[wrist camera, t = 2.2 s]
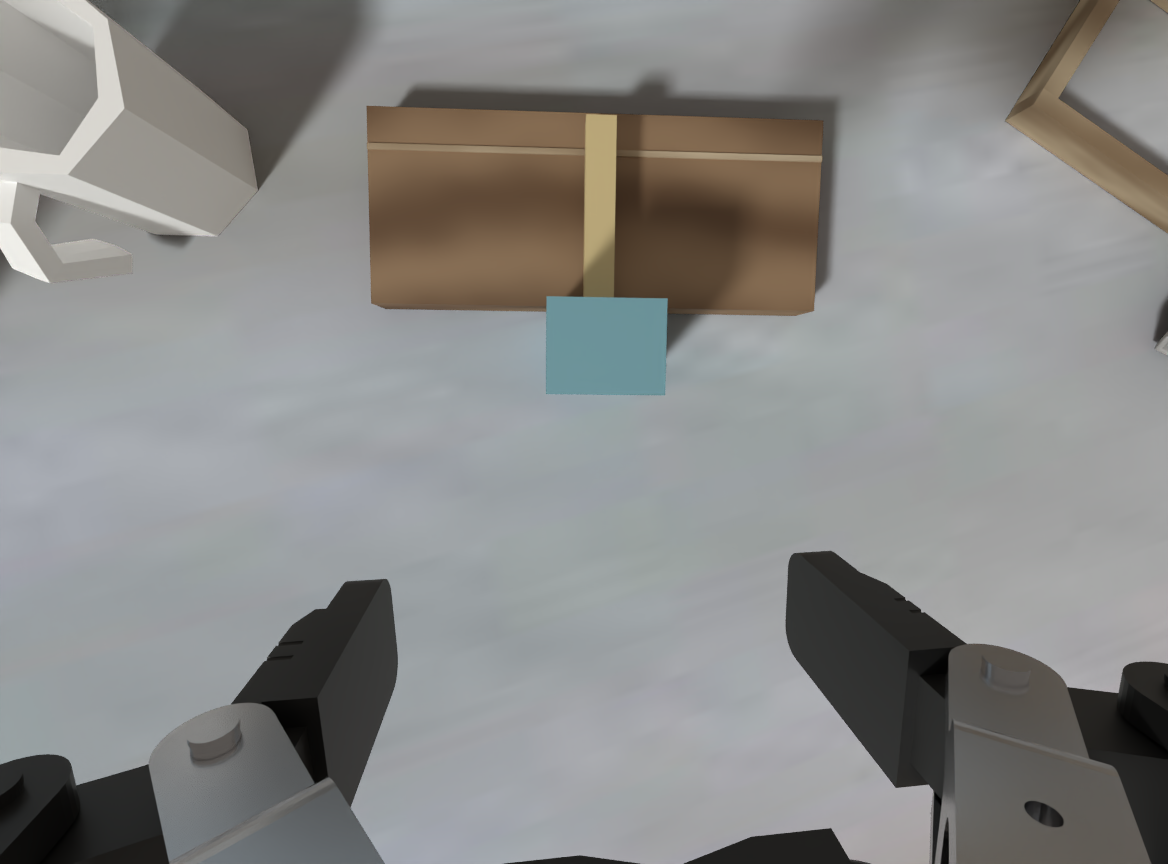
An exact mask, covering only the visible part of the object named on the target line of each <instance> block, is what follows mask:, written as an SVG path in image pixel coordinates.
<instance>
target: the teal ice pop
mask: <svg viewBox="0 0 1168 864" xmlns="http://www.w3.org/2000/svg"><path fill="white" fill-rule="evenodd" d="M616 137H617V115H599V114H586V122H585V182H584V267H583V297H559V296H547V306H546V394H593V395H665V381H666V342H667V303H668V298H614V256H615V196H616Z"/></svg>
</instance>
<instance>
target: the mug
mask: <svg viewBox="0 0 1168 864" xmlns="http://www.w3.org/2000/svg"><path fill="white" fill-rule="evenodd" d="M257 191H258V187H257V181H256V175H255V169H254V164H253V158H252V152H251V146H250V140H249V134H248V130H247V129H246V128H245V127H244V126H243V125H242V124H240V123H239V122H238V121H237V120H236V119H234V118H233V117H232V116H231V115H230V114H229V113H227V112H226V111H225V110H224V109H223V108H221V107H220V106H219V105H218V104H217V103H216V102H214V101H213V100H212V99H211V98H210V97H209V96H207V95H206V94H205V93H204V92H203V91H201V90H200V89H199V88H198V87H196V86H195V85H194V84H193V83H191V82H190V81H189V80H188V79H186V78H185V77H184V76H183V75H181V74H180V73H179V72H178V71H176V70H175V69H174V68H173V67H171V66H170V65H169V64H168V63H166V62H165V61H164V60H163V59H161V58H160V57H159V56H158V55H156V54H155V53H154V52H153V51H151V50H150V49H149V48H148V47H146V46H145V45H144V44H143V43H141V42H140V41H139V40H137V39H136V38H135V37H134V36H132V35H131V34H130V33H129V32H127V31H126V30H125V29H124V28H122V27H121V26H120V25H119V24H117V23H116V22H115V21H114V20H112V19H111V18H110V17H109V16H107V15H106V14H105V13H104V12H102V11H101V10H100V9H99V8H97V7H96V6H95V5H94V4H92V3H91V2H90V1H89V0H0V249H1V250H2V252H3V254H4V255H5V257H6V258H7V260H8V262H9V263H10V265H11V267H12V268H13V269H15V270H17V271H20V272H22V273H25V274H27V275H29V276H32V277H34V278H37V279H40V280H42V281H45V282H48V283H58V282H66V281H75V280H83V279H91V278H99V277H108V276H116V275H124V274H132V273H133V259H132V254H131V253H129V252H127V251H126V250H124V249H122V248H120V247H119V246H116V245H113V244H110V243H106V242H103V241H99V240H96V239H87V240H81V241H74V242H67V243H60V244H53V245H51V244H50V243H49V241H48V240H47V238H46V237H45V235H44V234H43V232H42V231H41V229H40V228H39V226H38V224H37V223H36V221H35V219H36V214H37V208H38V202H39V197H40V194H41V195H44V196H47V197H50V198H52V199H55V200H58V201H61V202H64V203H67V204H70V205H72V206H75V207H78V208H81V209H84V210H87V211H90V212H92V213H95V214H98V215H101V216H104V217H107V218H110V219H112V220H115V221H118V222H121V223H124V224H127V225H130V226H132V227H135V228H138V229H141V230H144V231H147V232H149V233H152V234H155V235H188V236H219V235H220V233H221V232H222V231H223V230H224V229H225V228H226V227H227V225H228V224H229V223H230V222H231V221H232V220H233V219H234V217H235V216H236V215H237V214H238V213H239V212H240V211H241V209H242V208H243V207H244V206H245V205H246V204H247V203H248V201H249V200H250V199H251V198H252V197H253V196H254V195H255V193H256V192H257Z"/></svg>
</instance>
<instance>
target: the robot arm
mask: <svg viewBox="0 0 1168 864" xmlns="http://www.w3.org/2000/svg"><path fill="white" fill-rule="evenodd" d="M786 635H787V640H788V643H789V646H790V649H791V651H792V653H793V655H794V657H795V658H796V660H797V661H798V662H799V663H800V665H801V666H802V667H803V669H804V670H805V671H806V672H807V674H808V675H809V676H810V678H811V679H812V680H813V681H814V683H815V684H816V685H817V687H818V688H819V689H820V691H821V692H822V693H823V694H824V696H825V697H826V698H827V700H828V701H829V702H830V703H831V705H832V706H833V707H834V709H835V710H836V711H837V712H838V714H839V715H840V716H841V718H842V719H843V720H844V721H845V723H846V724H847V725H848V727H849V728H850V729H851V730H852V732H853V733H854V734H855V736H856V737H857V738H858V739H859V741H860V742H861V743H862V745H863V746H864V747H865V749H866V750H867V751H868V752H869V754H870V755H871V756H872V758H873V759H874V760H875V761H876V763H877V764H878V765H879V767H880V768H881V769H882V770H883V772H884V773H885V774H886V776H887V777H888V778H889V779H890V781H891V782H892V783H893V785H894V786H895V787H896V788H899V787H909V786H919V785H928V784H929V785H930V787H931V788H932V789H933V798H932V807H931V828H930V859H929V864H1168V664H1165V663H1158V662H1135V663H1131V664H1128V665H1127V666H1125V667H1124V669H1123V672H1122V678H1121V683H1120V689H1119V693H1111V692H1103V691H1094V690H1086V689H1077V688H1069V687H1067V686H1066V684H1065V682H1064V680H1063V679H1062V678H1061V676H1060V675H1059V674H1057V673H1056V672H1055V671H1054V670H1053V669H1051V668H1050V667H1048V666H1047V665H1045V664H1044V663H1042V662H1040V661H1038V660H1036V659H1034V658H1032V657H1030V656H1028V655H1025V654H1023V653H1020V652H1017V651H1014V650H1011V649H1007V648H1003V647H999V646H994V645H987V644H966V643H965V642H963V641H962V640H961V639H959V638H958V637H957V636H955V635H954V634H953V633H951V632H950V631H949V630H947V629H946V628H945V627H943V626H942V625H941V624H939V623H938V622H937V621H935V620H934V619H933V618H931V617H930V616H929V615H927V614H926V613H925V612H924V613H921V609H919V608H918V607H917V606H915V605H914V604H913V603H911V602H910V601H906V600H905V597H903V596H902V595H901V594H899V593H898V592H897V591H895V590H894V589H893V588H891V587H890V586H889V585H887V584H886V583H883V582H881V581H879V580H876V579H874V578H872V577H870V576H867V575H865V574H863V573H860V572H859V571H857V570H856V569H855V568H854V567H852V566H851V565H850V564H848V563H847V562H846V561H845V560H843V559H842V558H841V557H839V556H838V555H837V554H836V553H834V552H832V551H821V552H805V553H794V554H793V555H792V556H791V558H790V560H789V566H788V584H787V604H786ZM397 667H398V654H397V643H396V634H395V624H394V614H393V605H392V595H391V588H390V584H389V582H388V580H387V579H378V580H363V581H347V582H345V583H344V584H343V586H342V587H341V588H340V590H339V591H338V593H337V594H336V596H335V597H334V598H333V600H332V601H331V603H330V604H329V606H328V607H327V608H326V609H315V610H314V611H312V612H311V613H309V614H308V615H306V616H305V617H303V618H302V619H300V620H299V621H298V622H296V623H295V624H293V625H292V626H291V627H290V629H289V630H288V631H287V633H286V634H285V635H284V636H283V638H282V639H281V640H280V642H279V645H278V646H276V647H275V648H274V649H273V651H272V652H271V653H270V654H269V656H268V657H267V661H264V662H263V664H262V665H261V666H260V667H259V669H258V670H257V671H256V673H255V674H254V675H253V676H252V678H251V679H250V680H249V682H248V683H247V684H246V685H245V687H244V688H243V689H242V691H241V692H240V693H239V695H238V696H237V697H236V698H235V700H234V701H233V702H232V704H231V705H227V706H223V707H220V708H216V709H213V710H210V711H208V712H205V713H203V714H201V715H198V716H196V717H194V718H192V719H190V720H189V721H187V722H185V723H183V724H182V725H180V726H179V727H177V728H176V729H174V730H173V731H172V732H171V733H169V734H168V735H167V736H166V737H165V738H164V739H163V740H162V741H161V742H160V743H159V744H158V745H157V746H156V748H155V749H154V751H153V752H152V754H151V756H150V760H149V764H148V765H145V766H142V767H139V768H135V769H132V770H128V771H125V772H121V773H118V774H115V775H111V776H108V777H104V778H101V779H97V780H94V781H90V782H87V783H83V784H80V785H76V783H75V779H74V775H73V771H72V766H71V763H70V762H69V760H68V759H66V758H64V757H62V756H59V755H49V754H47V755H36V756H30V757H25V758H21V759H17V760H13V761H10V762H7V763H4V764H1V765H0V864H385V863H384V861H383V860H382V858H381V857H380V855H379V853H378V852H377V850H376V849H375V847H374V845H373V844H372V842H371V840H370V839H369V837H368V836H367V834H366V832H365V831H364V829H363V827H362V826H361V824H360V823H359V821H358V819H357V818H356V816H355V815H354V813H353V811H352V810H351V808H350V807H351V804H352V802H353V799H354V796H355V794H356V791H357V788H358V785H359V783H360V780H361V777H362V774H363V772H364V769H365V766H366V764H367V761H368V758H369V755H370V753H371V750H372V747H373V745H374V742H375V739H376V736H377V734H378V731H379V728H380V726H381V723H382V720H383V717H384V715H385V712H386V709H387V706H388V704H389V701H390V698H391V696H392V693H393V690H394V687H395V683H396V677H397ZM506 864H638V863H631V862H624V861H616V860H609V859H602V858H595V857H587V856H570V857H561V858H552V859H543V860H533V861H524V862H515V863H506ZM684 864H870V863H866V862H862V861H856V860H850V859H849V858H848V856H847V855H846V853H845V851H844V849H843V848H842V846H841V844H840V843H839V841H838V839H837V838H836V836H835V834H834V832H833V831H832V829H831V828H829V829H820V830H811V831H802V832H792V833H783V834H774V835H765V836H755V837H750V838H747V839H745V840H742V841H740V842H737V843H735V844H732V845H730V846H727V847H725V848H722V849H720V850H717V851H715V852H712V853H710V854H707V855H705V856H702V857H699V858H697V859H694V860H692V861H689V862H687V863H684Z"/></svg>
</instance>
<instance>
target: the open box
mask: <svg viewBox="0 0 1168 864" xmlns="http://www.w3.org/2000/svg"><path fill="white" fill-rule="evenodd" d="M586 114H599V115H617V137H616V196H615V256H614V298H668V303H667V314H721V315H780V316H796V315H800V314H804V313H808V312H812V311H814V298H815V278H816V258H817V238H818V218H819V198H820V179H821V162H822V139H823V121H822V120H791V119H760V118H728V117H697V116H666V115H634V114H603V113H571V112H540V111H509V110H477V109H446V108H415V107H383V106H367V140H368V143H367V149H368V182H369V224H370V267H371V303H372V304H375V305H377V306H380V307H382V308H385V309H427V310H486V311H544V312H546V306H547V296H559V297H583V267H584V182H585V122H586Z"/></svg>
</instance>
